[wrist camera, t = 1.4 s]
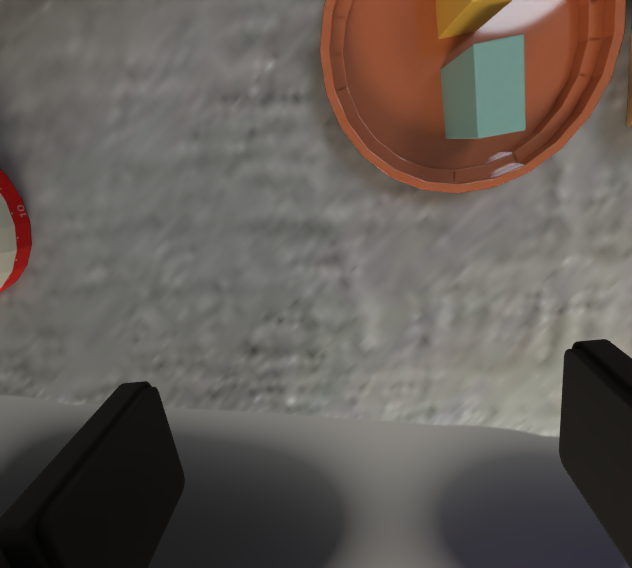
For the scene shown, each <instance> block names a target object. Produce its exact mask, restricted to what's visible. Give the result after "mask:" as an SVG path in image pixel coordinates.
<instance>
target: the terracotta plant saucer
mask: <svg viewBox="0 0 632 568" xmlns="http://www.w3.org/2000/svg"><path fill="white" fill-rule="evenodd" d="M625 9H626V0H512V1H511V2H510V3H509V4H507V5H506V6H505V7H504V8H503V9H502V10H500V11H499V12H498V13H497V14H496V15H495V16H493V17H492V18H491V19H490V20H489V21H487V22H486V23H485V24H484V25H483V26H482V27H480V28H479V29H478V30H477V31H476V32H472V33H467V34H462V35H457V36H452V37H447V38H443V39H439V38H438V29H437V15H436V1H435V0H326V2H325V5H324V9H323V20H322V32H321V44H320V56H321V62H322V69H323V76H324V82H325V89H326V93H327V96H328V98H329V101H330V103H331V105H332V108H333V110H334V113H335V115H336V117H337V120H338V122H339V125H340V127H341V129H342V130H343V131H344V133H345V134H346V135H347V137H348V138H349V139H350V141H351V142H352V143H353V144H354V146H355V147H356V148H357V150H358V151H359V152H360V154H361V155H362V156H363V157H364V158H366V159H367V160H368V161H370V162H371V163H372V164H374V165H375V166H376V167H378V168H379V169H380V170H382V171H383V172H384V173H385V174H387V175H388V176H389V177H391V178H394V179H396V180H399V181H401V182H404V183H406V184H409V185H412V186H414V187H417V188H419V189H423V190H429V191H439V192H450V193H462V192H469V191H475V190H481V189H487V188H493V187H496V186H498V185H500V184H503V183H505V182H507V181H510V180H512V179H515V178H517V177H519V176H522V175H524V174H526V173H528V172H530V171H531V170H533V169H534V168H535V167H537V166H538V165H540V164H541V163H542V162H544V161H545V160H546V159H548V158H549V157H551V156H552V155H553V154H555V153H556V152H557V151H559V150H560V149H561V148H562V147H563V146H564V145H565V144H566V143H567V142H568V141H569V139H570V138H571V137H572V136H573V135H574V134H575V133H576V131H577V130H578V129H579V128H580V127H581V126H582V125H583V123H584V122H585V121H586V120H587V119H588V118H589V116H590V115H591V113H592V112H593V110H594V108H595V106H596V104H597V103H598V101H599V99H600V97H601V95H602V94H603V92H604V90H605V88H606V86H607V85H608V83H609V81H610V79H611V76H612V74H613V70H614V67H615V63H616V60H617V57H618V53H619V50H620V46H621V43H622V39H623V36H624V29H625ZM519 34H524V56H525V121H526V129H525V130H524V131H519V132H513V133H507V134H501V135H496V136H490V137H484V138H476V139H446V138H445V126H444V112H443V99H442V85H441V71H440V70H441V69H442V68H443V67H444V66H446V65H447V64H448V63H450V62H451V61H452V60H453V59H455V58H456V57H457V56H459V55H460V54H461V53H463V52H464V51H465V50H467V49H468V48H469V47H470V46H472V45H473V44H475V43H480V42H485V41H490V40H495V39H500V38H504V37H509V36H514V35H519Z"/></svg>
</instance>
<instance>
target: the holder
mask: <svg viewBox="0 0 632 568" xmlns="http://www.w3.org/2000/svg"><path fill="white" fill-rule="evenodd" d="M626 126H632V31H631V49H630V67H629V85H628V103H627V121H626Z"/></svg>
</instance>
